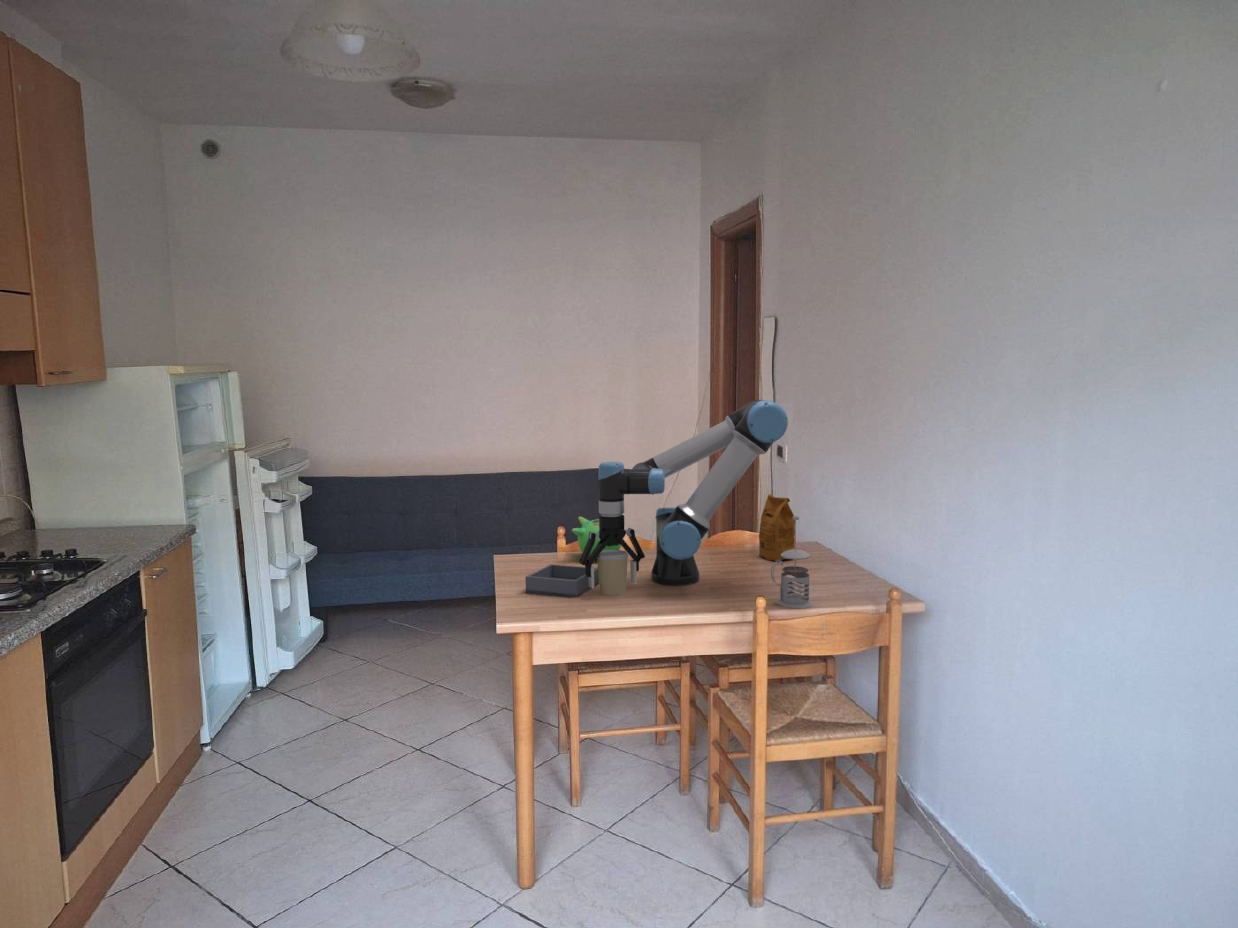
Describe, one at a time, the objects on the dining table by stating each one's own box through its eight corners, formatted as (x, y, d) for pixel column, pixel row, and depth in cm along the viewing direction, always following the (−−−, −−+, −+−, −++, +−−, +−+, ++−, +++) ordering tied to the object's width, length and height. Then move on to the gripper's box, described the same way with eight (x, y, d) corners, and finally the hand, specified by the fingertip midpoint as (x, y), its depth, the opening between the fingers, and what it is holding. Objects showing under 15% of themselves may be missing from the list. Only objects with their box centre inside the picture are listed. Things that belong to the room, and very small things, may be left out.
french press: (817, 607, 222) (818, 517, 220) (776, 608, 222) (776, 519, 219) (806, 597, 232) (807, 511, 229) (766, 598, 231) (767, 512, 229)
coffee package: (778, 552, 290) (778, 492, 287) (798, 560, 278) (799, 497, 276) (754, 555, 286) (754, 494, 284) (773, 562, 275) (774, 499, 272)
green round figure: (620, 564, 276) (620, 521, 275) (572, 563, 278) (571, 521, 276) (623, 552, 294) (623, 512, 293) (578, 552, 295) (577, 512, 294)
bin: (598, 583, 250) (598, 568, 250) (576, 597, 235) (575, 581, 235) (551, 579, 257) (550, 564, 256) (525, 592, 241) (525, 576, 241)
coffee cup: (622, 586, 247) (622, 548, 245) (632, 594, 238) (632, 554, 237) (593, 589, 244) (592, 550, 243) (602, 597, 235) (601, 557, 234)
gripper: (644, 509, 247) (645, 577, 249) (567, 515, 237) (568, 586, 239) (655, 513, 240) (655, 582, 242) (576, 520, 230) (577, 592, 232)
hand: (612, 584), depth 241 cm, fingers open, 13 cm apart
